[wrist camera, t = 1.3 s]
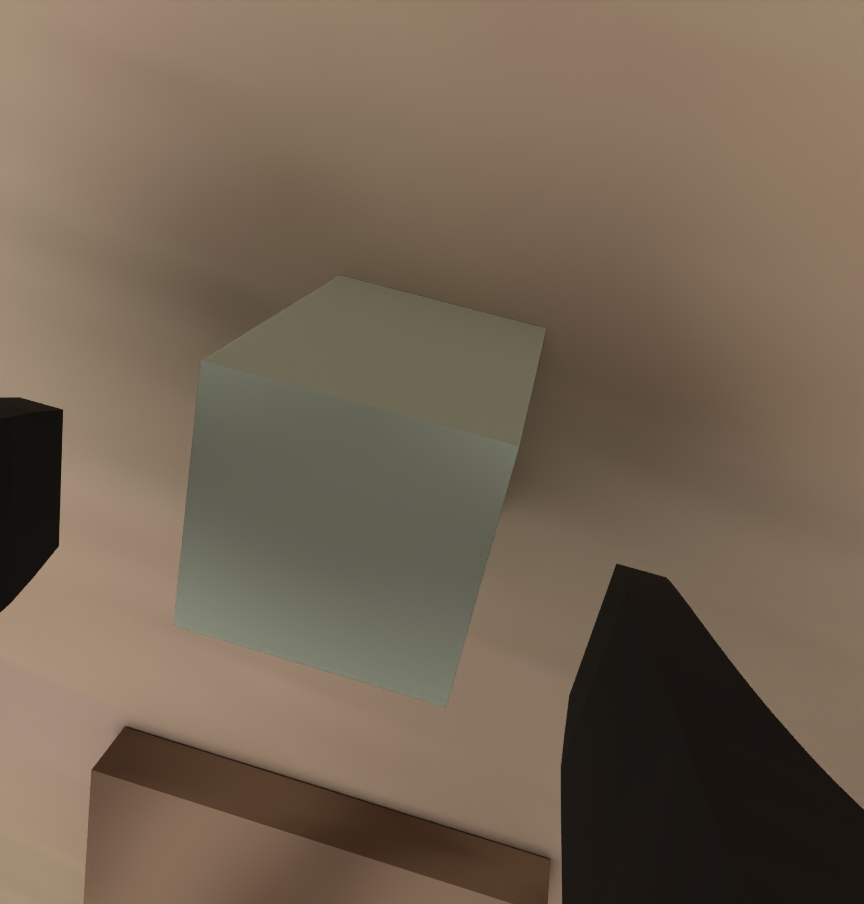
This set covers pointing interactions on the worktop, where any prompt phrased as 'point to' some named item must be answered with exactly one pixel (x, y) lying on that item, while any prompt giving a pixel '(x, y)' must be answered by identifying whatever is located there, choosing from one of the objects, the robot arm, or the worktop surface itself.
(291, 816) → the base
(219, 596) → the block
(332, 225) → the worktop surface
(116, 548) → the worktop surface
